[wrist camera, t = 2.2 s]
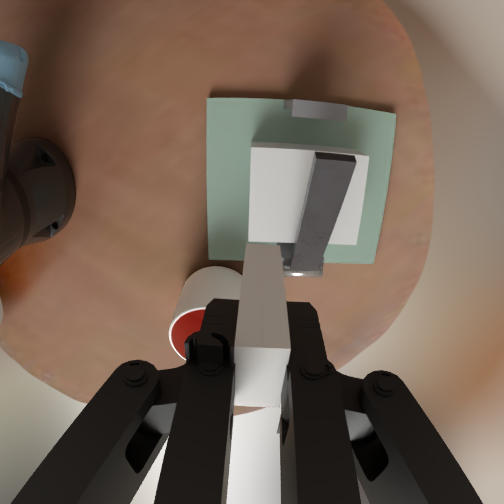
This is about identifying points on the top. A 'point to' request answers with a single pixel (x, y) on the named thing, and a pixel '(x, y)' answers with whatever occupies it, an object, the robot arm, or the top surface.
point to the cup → (201, 301)
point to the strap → (320, 212)
